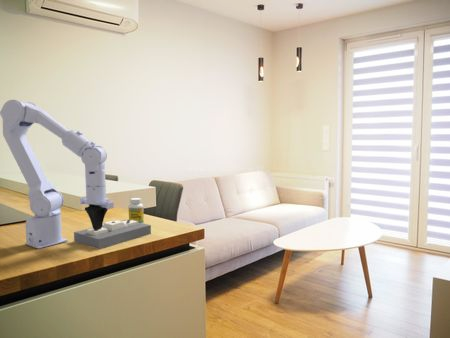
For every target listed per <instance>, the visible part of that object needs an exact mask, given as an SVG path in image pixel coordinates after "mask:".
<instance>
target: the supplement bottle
mask: <svg viewBox="0 0 450 338" xmlns="http://www.w3.org/2000/svg"><path fill="white" fill-rule="evenodd" d="M129 203H130V204H129V205H128V220H134V221H138V222H139V223H143V224H145V219H144V204H143V203H142V198H140V197H133V198H130V199H129Z"/></svg>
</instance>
